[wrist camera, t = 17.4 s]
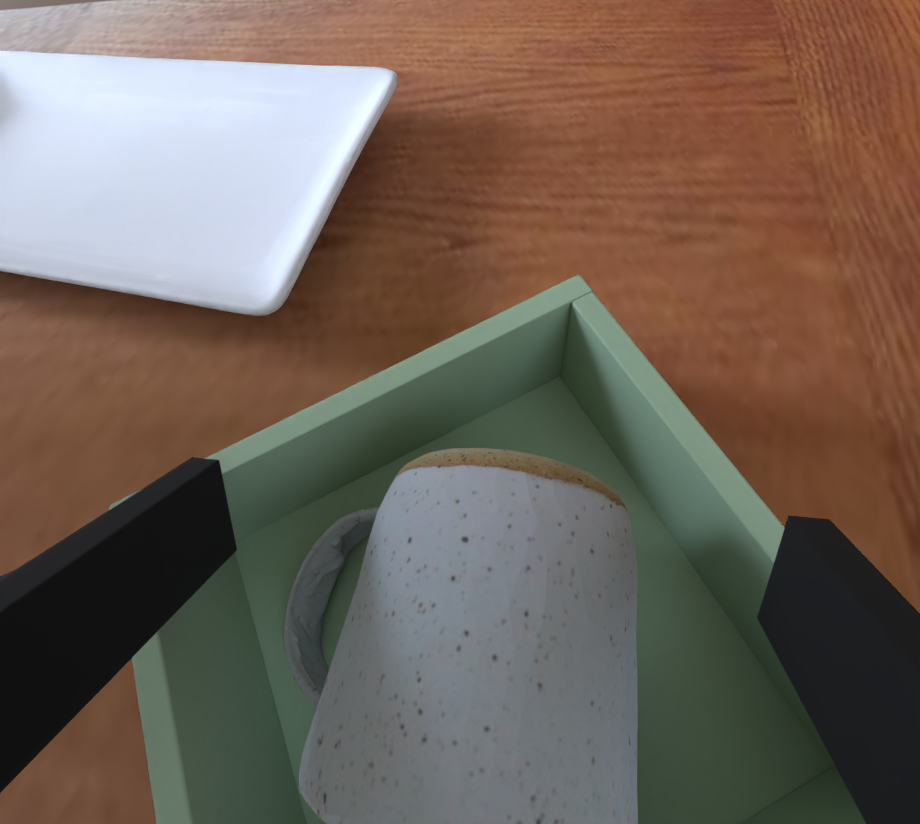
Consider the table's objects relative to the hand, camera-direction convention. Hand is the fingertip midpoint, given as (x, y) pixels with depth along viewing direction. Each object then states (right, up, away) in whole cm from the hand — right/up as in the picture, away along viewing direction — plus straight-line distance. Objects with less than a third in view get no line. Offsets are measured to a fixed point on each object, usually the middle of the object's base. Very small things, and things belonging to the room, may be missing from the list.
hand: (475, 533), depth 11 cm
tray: (-20, +16, +18) cm, 31 cm away
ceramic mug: (0, -5, +5) cm, 7 cm away
